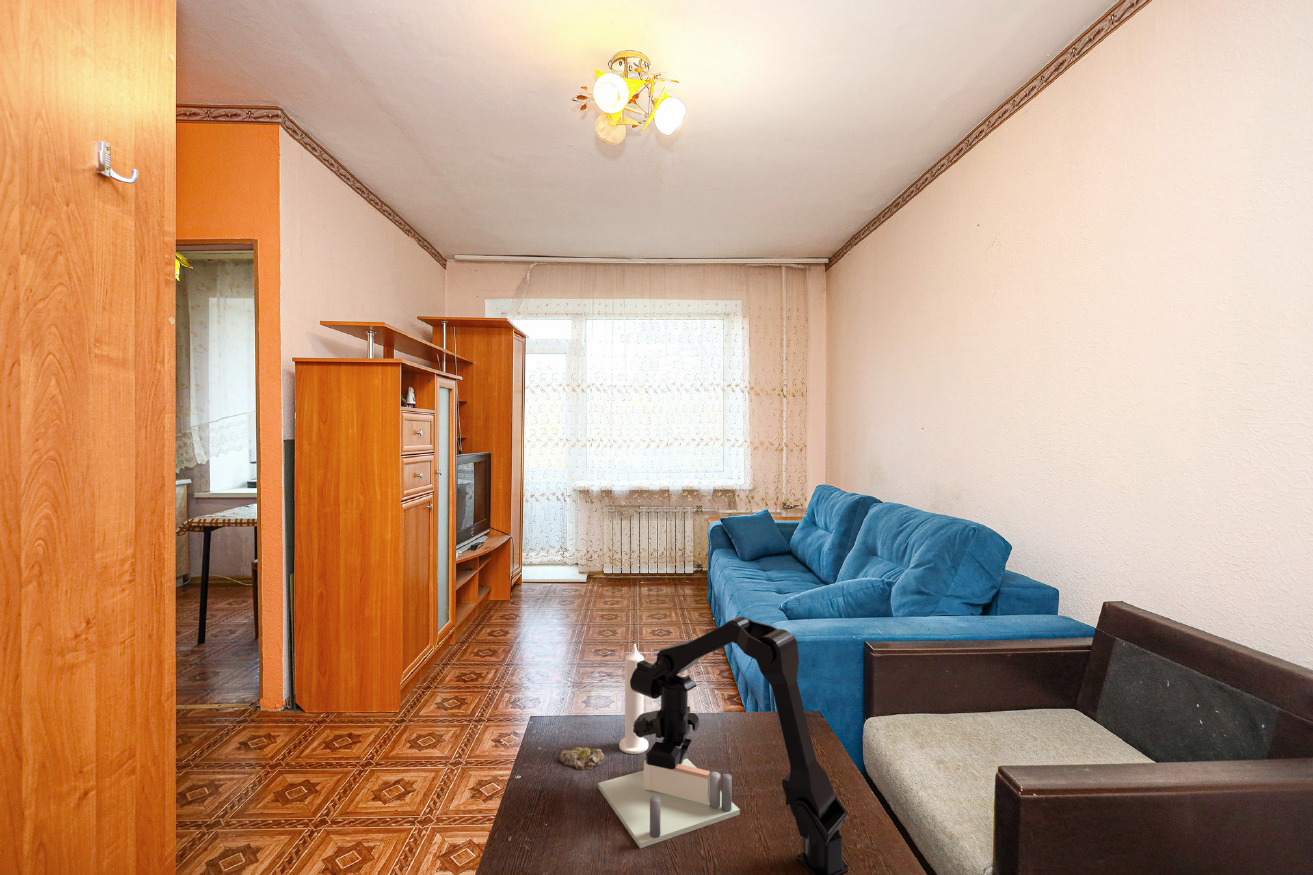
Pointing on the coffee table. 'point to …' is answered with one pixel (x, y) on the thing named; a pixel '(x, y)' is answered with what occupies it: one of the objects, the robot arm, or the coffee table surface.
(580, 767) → the mineral rock
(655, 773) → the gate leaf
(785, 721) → the robot arm
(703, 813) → the gate base
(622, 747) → the candle
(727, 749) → the coffee table surface
